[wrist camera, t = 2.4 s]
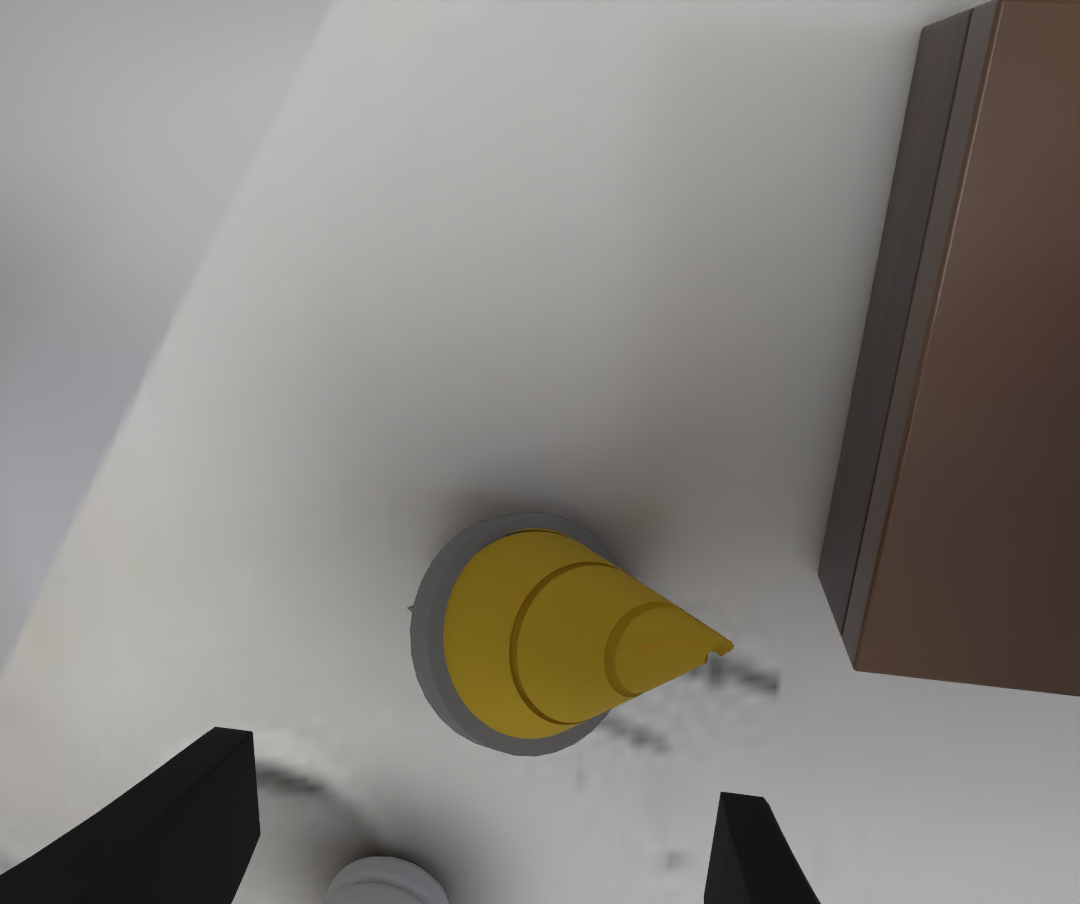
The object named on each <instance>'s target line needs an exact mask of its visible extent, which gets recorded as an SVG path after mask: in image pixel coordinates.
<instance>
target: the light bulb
mask: <svg viewBox="0 0 1080 904" xmlns="http://www.w3.org/2000/svg"><path fill="white" fill-rule="evenodd" d="M324 904H449V901H448V898H447V896H446V894H445V891H444V890H443V888H442V887H441V885H440V884H439V883H438V882H437V881H436V880H435V879H434V878H433V877H432V876H431V875H430V874H428V873H427V872H426V871H425V870H423V869H422V868H421V867H419V866H417V865H416V864H414V863H412V862H409V861H406V860H403V859H399V858H395V857H366V858H362V859H359V860H356V861H354V862H352V863H350V864H348V865H347V866H346V867H344V868H343V869H342V870H341V871H339V872H338V874H337V875H336V876H335V878H334V879H333V881H332V882H331V884H330V886H329V888H328V891H327V893H326V896H325V900H324Z"/></svg>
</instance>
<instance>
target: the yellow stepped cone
mask: <svg viewBox="0 0 1080 904" xmlns="http://www.w3.org/2000/svg"><path fill="white" fill-rule="evenodd" d="M407 608H408V609H409V610H410V611H411V612H412V620H411V627H410V637H411V655H412V659H413V664H414V668H415V672H416V677H417V679H418V681H419V684H420V686H421V688H422V690H423V693H424V695H425V697H426V699H427V701H428V702H429V704H430V705H431V706H432V708H433V709H434V711H435V712H436V713H437V715H438V716H439V718H440V719H442V720H443V721H444V722H445V723H446V724H447V725H448V726H449V727H450V728H451V729H453V730H454V731H455V732H456V733H458V734H459V735H461V736H463V737H465V738H467V739H468V740H470V741H472V742H474V743H476V744H479V745H482V746H485V747H488V748H491V749H494V750H497V751H501V752H504V753H508V754H511V755H516V756H539V755H544V754H549V753H554V752H557V751H560V750H562V749H564V748H566V747H569V746H571V745H573V744H575V743H576V742H578V741H579V740H581V739H582V738H583V737H585V736H586V735H587V734H589V733H590V732H592V731H593V730H594V729H595V727H596V726H597V725H598V724H599V723H600V722H601V721H602V720H603V719H604V718H605V717H606V716H607V714H608V713H609V711H610V710H611V709H612V708H614V707H616V706H618V705H620V704H622V703H624V702H626V701H628V700H630V699H632V698H634V697H637V696H639V695H641V694H642V693H644V692H647V691H649V690H651V689H653V688H655V687H657V686H659V685H661V684H663V683H666V682H668V681H670V680H672V679H674V678H676V677H678V676H680V675H682V674H684V673H686V672H688V671H691V670H693V669H695V668H697V667H699V666H701V665H703V664H705V663H706V662H707V659H708V653H709V652H717V653H718V654H719V656H722V655H724V654H726V653H727V652H729V651H731V650H732V649H733V648H734V646H733V643H732V642H731V641H729V640H728V639H727V638H725V637H724V636H722V635H721V634H719V633H718V632H716V631H715V630H713V629H712V628H710V627H709V626H707V625H706V624H704V623H702V622H701V621H699V620H698V619H696V618H695V617H693V616H692V615H690V614H688V613H687V612H685V611H684V610H683V609H681V608H679V607H678V606H676V605H675V604H673V603H672V602H670V601H669V600H667V599H666V598H664V597H663V596H661V595H659V594H658V593H656V592H655V591H653V590H652V589H650V588H649V587H647V586H646V585H644V584H643V583H641V582H640V581H638V580H636V579H635V578H633V577H632V576H630V575H629V574H627V573H626V572H624V571H623V570H621V569H620V568H619V567H618V565H617V564H616V562H615V561H614V559H613V557H612V556H611V554H610V553H609V551H608V550H607V549H606V548H605V547H604V546H603V545H602V544H601V542H600V541H599V540H598V539H597V538H596V537H595V536H594V535H592V534H591V533H590V532H588V531H587V530H586V529H584V528H583V527H581V526H580V525H579V524H577V523H574V522H572V521H570V520H568V519H565V518H563V517H561V516H557V515H552V514H546V513H541V512H535V513H517V514H511V515H505V516H500V517H496V518H492V519H488V520H484V521H481V522H479V523H477V524H475V525H473V526H471V527H469V528H467V529H466V530H464V531H462V532H461V533H460V534H459V535H457V536H456V537H455V538H454V539H452V540H451V541H450V542H449V543H447V544H446V546H445V547H444V548H443V549H442V550H441V552H440V553H439V554H438V555H437V556H436V558H435V559H434V560H433V561H432V563H431V565H430V567H429V568H428V570H427V572H426V574H425V576H424V578H423V579H422V581H421V584H420V587H419V590H418V593H417V596H416V599H415V602H414V605H413V606H410V607H407Z"/></svg>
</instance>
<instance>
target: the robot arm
mask: <svg viewBox="0 0 1080 904" xmlns="http://www.w3.org/2000/svg"><path fill="white" fill-rule="evenodd" d="M259 837H260V822H259V809H258V796H257V783H256V769H255V756H254V743H253V732H252V731H244V730H237V729H229V728H221V727H214V728H213V729H211V730H210V731H209V732H207V733H206V734H204V735H203V736H202V737H200V738H199V739H197V740H196V741H195V742H193V743H192V744H191V745H189V746H188V747H187V748H185V749H184V750H183V751H181V752H180V753H178V754H177V755H176V756H174V757H173V758H172V759H170V760H169V761H168V762H166V763H165V764H164V765H162V766H161V767H160V768H158V769H157V770H156V771H154V772H153V773H152V774H150V775H149V776H147V777H146V778H145V779H143V780H142V781H141V782H139V783H138V784H136V785H135V786H134V787H132V788H131V789H129V790H128V791H127V792H125V793H124V794H123V795H121V796H120V797H118V798H117V799H116V800H114V801H113V802H111V803H110V804H109V805H107V806H106V807H104V808H103V809H102V810H100V811H99V812H97V813H96V814H95V815H93V816H91V817H90V818H88V819H87V820H85V821H84V822H82V823H81V824H79V825H78V826H76V827H75V828H73V829H72V830H70V831H69V832H67V833H66V834H64V835H63V836H61V837H60V838H58V839H57V840H55V841H54V842H52V843H51V844H49V845H48V846H46V847H45V848H43V849H42V850H40V851H39V852H37V853H36V854H34V855H33V856H31V857H29V858H28V859H26V860H24V861H23V862H21V863H20V864H18V865H16V866H15V867H13V868H11V869H10V870H8V871H6V872H5V873H3V874H1V875H0V904H231V903H232V901H233V899H234V897H235V894H236V892H237V890H238V887H239V885H240V883H241V881H242V878H243V876H244V874H245V871H246V869H247V866H248V864H249V862H250V859H251V857H252V854H253V852H254V849H255V847H256V844H257V842H258V839H259ZM704 904H821V903H820V902H819V900H818V898H817V897H816V895H815V893H814V891H813V890H812V888H811V886H810V884H809V882H808V881H807V879H806V877H805V875H804V873H803V872H802V870H801V868H800V866H799V864H798V862H797V860H796V858H795V857H794V855H793V853H792V851H791V849H790V847H789V845H788V843H787V841H786V839H785V837H784V835H783V833H782V831H781V829H780V827H779V825H778V823H777V821H776V819H775V816H774V814H773V812H772V810H771V808H770V805H769V804H768V803H767V801H766V800H765V799H764V798H763V797H758V796H750V795H743V794H735V793H727V792H721V794H720V800H719V806H718V813H717V819H716V825H715V831H714V837H713V843H712V850H711V856H710V862H709V868H708V874H707V880H706V886H705V893H704Z"/></svg>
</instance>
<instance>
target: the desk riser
mask: <svg viewBox="0 0 1080 904" xmlns="http://www.w3.org/2000/svg"><path fill="white" fill-rule="evenodd" d="M818 576H819V579H820V582H821V585H822V587H823V590H824V592H825V595H826V598H827V600H828V603H829V606H830V608H831V611H832V613H833V616H834V619H835V621H836V624H837V627H838V629H839V632H840V634H841V636H842V640H843V643H844V645H845V648H846V650H847V653H848V656H849V658H850V661H851V664H852V666H853V669H854V670H856V671H861V672H870V673H879V674H887V675H896V676H905V677H914V678H923V679H931V680H940V681H949V682H958V683H966V684H975V685H984V686H993V687H1001V688H1010V689H1019V690H1028V691H1036V692H1045V693H1054V694H1063V695H1072V696H1080V0H992V1H990V2H987V3H985V4H982V5H979V6H977V7H975V8H972V9H970V10H967V11H964V12H962V13H959V14H957V15H954V16H952V17H949V18H947V19H944V20H941V21H939V22H936V23H934V24H931V25H929V26H926V27H924V28H923V30H922V33H921V38H920V43H919V49H918V54H917V59H916V64H915V69H914V75H913V80H912V85H911V90H910V96H909V101H908V106H907V111H906V117H905V122H904V127H903V132H902V137H901V143H900V148H899V153H898V158H897V164H896V169H895V174H894V179H893V185H892V190H891V195H890V200H889V205H888V211H887V216H886V221H885V226H884V232H883V237H882V242H881V247H880V253H879V258H878V263H877V268H876V273H875V279H874V284H873V289H872V294H871V300H870V305H869V310H868V315H867V321H866V326H865V331H864V336H863V341H862V347H861V352H860V357H859V362H858V368H857V373H856V378H855V383H854V389H853V394H852V399H851V404H850V410H849V415H848V420H847V425H846V430H845V436H844V441H843V446H842V451H841V457H840V462H839V467H838V472H837V478H836V483H835V488H834V493H833V498H832V504H831V509H830V514H829V519H828V525H827V530H826V535H825V540H824V546H823V551H822V556H821V561H820V566H819V572H818Z"/></svg>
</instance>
